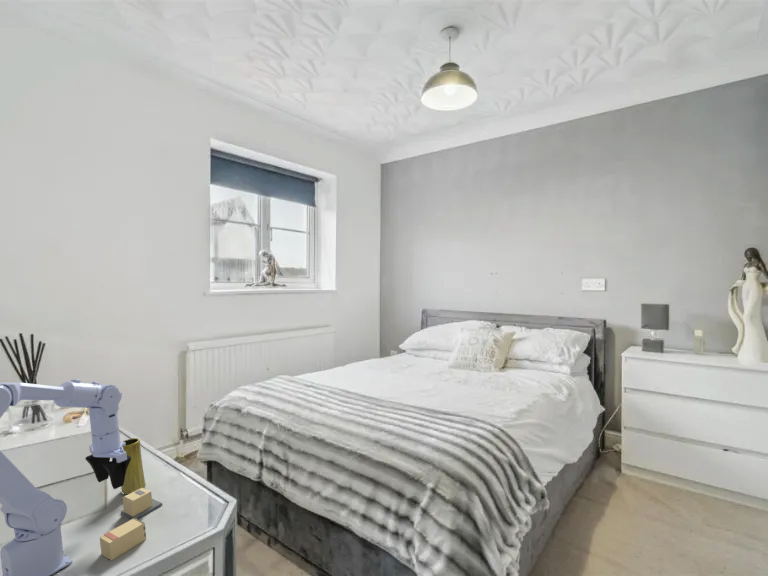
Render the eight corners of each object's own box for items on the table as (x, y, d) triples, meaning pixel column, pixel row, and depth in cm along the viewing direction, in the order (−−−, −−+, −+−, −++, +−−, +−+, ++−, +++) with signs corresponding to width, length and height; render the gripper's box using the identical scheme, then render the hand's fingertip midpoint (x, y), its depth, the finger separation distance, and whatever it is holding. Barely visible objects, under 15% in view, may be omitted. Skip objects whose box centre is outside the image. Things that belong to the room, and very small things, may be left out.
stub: (132, 516, 100) (131, 501, 100) (123, 512, 102) (122, 496, 102) (152, 505, 105) (151, 490, 104) (143, 501, 107) (142, 487, 107)
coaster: (135, 520, 100) (135, 518, 99) (120, 513, 103) (120, 511, 103) (162, 505, 106) (162, 503, 106) (147, 498, 109) (147, 496, 109)
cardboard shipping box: (111, 560, 86) (109, 542, 85) (101, 554, 88) (99, 536, 88) (146, 539, 92) (144, 522, 92) (136, 533, 94) (134, 517, 94)
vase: (133, 495, 111) (128, 447, 110) (115, 494, 112) (110, 446, 112) (150, 483, 117) (146, 437, 116) (133, 482, 118) (128, 437, 118)
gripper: (137, 429, 98) (142, 481, 99) (108, 421, 106) (113, 470, 106) (106, 441, 92) (112, 496, 93) (78, 431, 100) (83, 483, 100)
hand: (110, 483), depth 99 cm, fingers open, 7 cm apart
